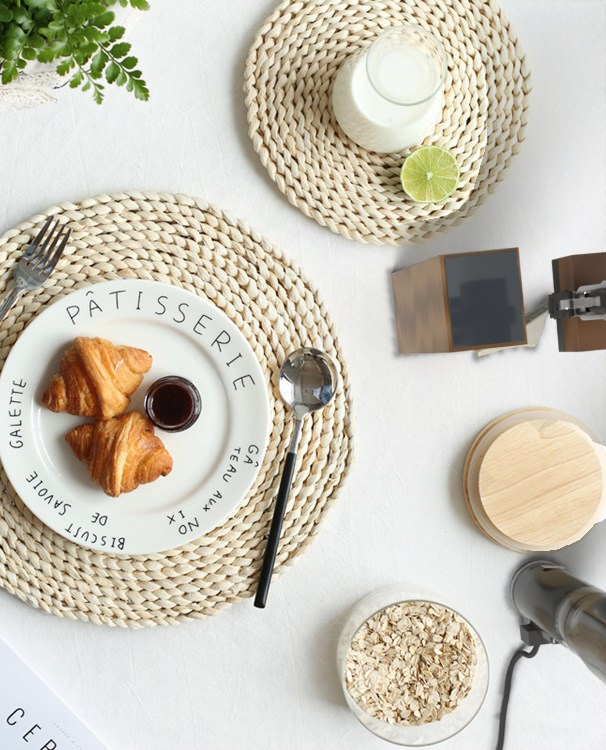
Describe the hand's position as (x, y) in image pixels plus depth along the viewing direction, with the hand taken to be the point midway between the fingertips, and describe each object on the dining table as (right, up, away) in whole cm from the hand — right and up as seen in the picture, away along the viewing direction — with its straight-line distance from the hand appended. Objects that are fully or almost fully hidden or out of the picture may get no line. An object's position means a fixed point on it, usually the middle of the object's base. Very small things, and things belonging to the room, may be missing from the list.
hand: (579, 304), depth 89 cm
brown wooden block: (0, 0, 0) cm, 0 cm away
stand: (-8, +2, +34) cm, 35 cm away
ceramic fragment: (+5, -1, +35) cm, 36 cm away
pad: (-7, +2, +12) cm, 14 cm away
